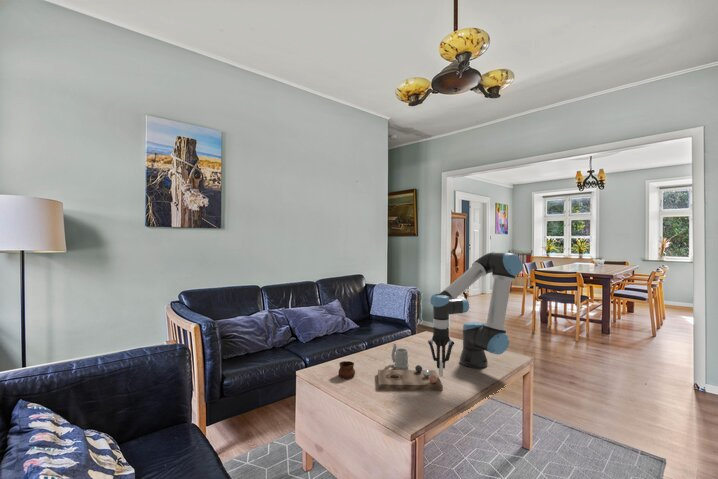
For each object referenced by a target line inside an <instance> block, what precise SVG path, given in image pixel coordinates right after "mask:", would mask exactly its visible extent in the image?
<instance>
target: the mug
mask: <svg viewBox="0 0 718 479" xmlns="http://www.w3.org/2000/svg"><path fill="white" fill-rule="evenodd" d="M408 353H409V352H408V349H406V348H397V344H396V343H393V346H392V351H391V361H392V363H394V368H395V370H409V355H408Z"/></svg>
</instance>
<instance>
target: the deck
mask: <svg viewBox="0 0 718 479" xmlns="http://www.w3.org/2000/svg"><path fill="white" fill-rule="evenodd" d="M427 370H428V369H427ZM424 371H425V370H423V369H422V371H421V372H417V371H416V369H407V370H398V369H377V380H378V391H379V390H382V391H385V390H386V391H388V390H389V391H394V390H395V391H440V392H441V391H443V389H444V388H443V387H444V386H443V382H442V381H441V379H440V376H439V374H438V373H437V371H436V370H432V369H431V370H430V369H429V370H428V371H429V372H430V376H432V375H434V376H436V378H437V381H436V383H431V382H430V380H429V378H430V376H429V377H428V378H426V377H424V375H423V372H424Z"/></svg>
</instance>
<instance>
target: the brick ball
mask: <svg viewBox="0 0 718 479" xmlns="http://www.w3.org/2000/svg"><path fill="white" fill-rule="evenodd" d="M429 380H430V382H431V383H436V381H437V378H436V376H434V375H432V376H430V378H429Z"/></svg>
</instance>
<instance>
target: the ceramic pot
mask: <svg viewBox="0 0 718 479" xmlns="http://www.w3.org/2000/svg"><path fill="white" fill-rule="evenodd" d="M338 364H339V367H340V368H339V369H338V372H337V373H338V376H339V378H340V377H341V378H340V379H343V378H344V380H351V379H354V377H355V374H356V370H355V368H354V366H355V362H354V361H349V360H348V361H346V360H345V361H340V362H339V363H338ZM350 378H351V379H350Z"/></svg>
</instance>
